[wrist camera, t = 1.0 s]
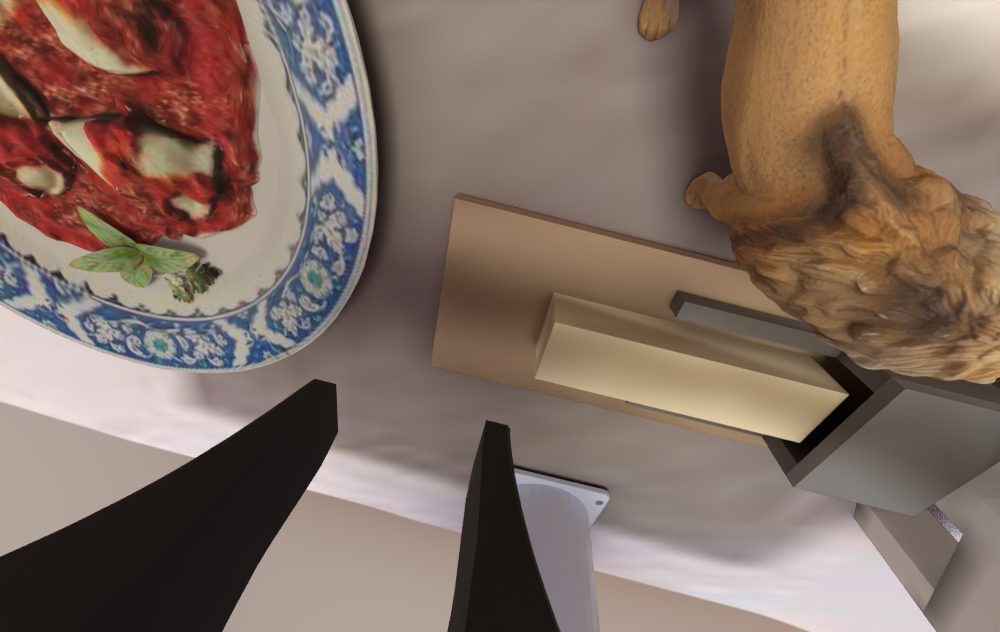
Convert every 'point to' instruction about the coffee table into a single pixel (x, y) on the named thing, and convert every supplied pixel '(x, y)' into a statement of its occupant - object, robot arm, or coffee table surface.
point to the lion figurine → (846, 192)
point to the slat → (683, 369)
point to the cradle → (714, 307)
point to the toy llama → (946, 555)
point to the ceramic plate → (184, 175)
